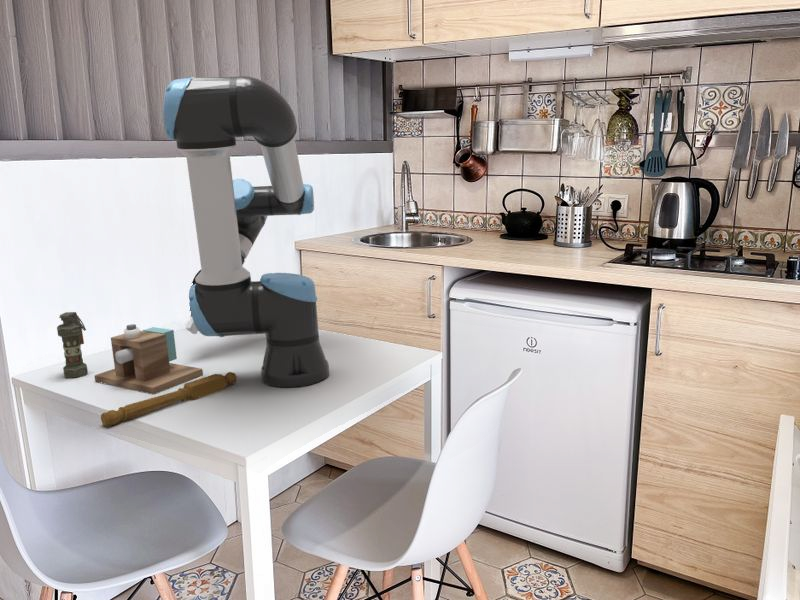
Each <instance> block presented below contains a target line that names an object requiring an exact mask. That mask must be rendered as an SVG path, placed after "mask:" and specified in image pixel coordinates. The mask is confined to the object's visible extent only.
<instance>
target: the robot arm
mask: <svg viewBox="0 0 800 600" xmlns="http://www.w3.org/2000/svg"><path fill="white" fill-rule="evenodd" d="M162 105H163V110H162V116H163V120H162V121H163V128H164V130H165V135H166V137H167V139H168V140H171V141H174V142H175V141H176V148H177V151H179V152H180V153H181V154H182V155H183V156H184V157H185V158H186V165H187V170H188V171H187V172H188V179H189V186H190V188H189V189H190V193H191V194H190V195H191V202H192V209H193V216H194V224H195V232H196V238H197V239H196V240H197V246H198V253H199V262H200V268H201V269H200V270H201V272H199V271H198V272H199V274H198V275H197V277H196V278H195V281H196V284H194V285H192V286H191V285H190V288H189V291H188V300H189V303H188V304H189V306H190V310H189V312H190V311H191V315H190V318H189V320H188V323H187V324H186V325H185V329H186V330H187V331H188V332H190V333H191V334H194V335H197V334H198V332H199V333H200V334H201V335H203V336H205V337H219V338H225V337H231V336H233V337H234V336H249V335H263V334H264V335H265V340H266V341H265V342H266V348H265V353H264V356H263V362H262V366H261V370H260V376H261V381H262V383H263V384H265V385H268V386H271V387H275V388H276V387H279V388H295V387H297V388H298V387H304V386H310V385H314V384H317V383H319V382H322V381H324V380H325V379H327V378H328V377H329V375H330V366H329V362H328V360H327V359H326V356H325V354H324V353H325V352H324V350H323V347H322V345H321V342H320V335H319V322H318V321H319V319H318V311H317V302H318V297H317V294H316V293H317V292H316V287H315V282H314V281H313V279H311V278H310V277H308V276H306V275H303V274H297V273H290V272H267V273H264V274H262V275H261V277H260V280H257V281H252V276H251V272H250V271H249V270H248V269H247V268H245V267H244V266H243V265H244V264H245V261H246V259H247V258H248V255H249V254H250V252H251V250H252V248H253V246H254V244H255V243H256V240H257V238H258V236H259V235H260V232H261V231H262V229H263V228H264V226H265V224H266V222H267V218H268V217H270V216H271V217H272V216H293V215H296V216H301V215H308V214H312V213H313V212H314V211H315V198H314V197H315V196H314V187H313V186H312V185H311V184H309V183H306V184H305V183H304V182H303V177H302V171H301V166H300V161H299V156H298V155H299V154H298V151H297V146H296V140H295V137H296V135H297V132H298V131H297V129H298V126H297V120H296V119H297V118H296V115H295V113H294V110H293V108H292V107H291V105H290V104H289V102H288V101H287V100H286V98H285V97H284V96H283V95H282V94H281V93H280V92H279V91H278V90H277V89H275V88H274V87H273V86H271V85H270V84H268V83H267V82H265V81H263V80H261V79H259V78H256V77H253V76H247V75H238V76H217V77H214V76H212V77H211V76H209V77H193V76H191V77H188V78H177V79H174V80H172V81H170V83H169V84H168V85H167V87H166V89H165V93H164V97H163V104H162ZM239 137H240V138H245V137H253V139H254V141H255V142H256V143H258V145H259V146H260V149H261V152H262V156H263V159H264V163H265V167H266V171H267V174H268V177H269V180H270V184H271V185H265V186H264V185H263V186H260V185H259V186H253V185H252V183H251V182H250V181H248V180H246V179H243V178H235V179H233V172H232V163H231V153H232V152H233V151H234V150H235V148H236V147H237V141H236V138H239ZM189 306H188V307H189Z"/></svg>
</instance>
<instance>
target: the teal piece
mask: <svg viewBox="0 0 800 600" xmlns="http://www.w3.org/2000/svg"><path fill="white" fill-rule="evenodd" d="M142 331H146V332H153V333H160V334H166V340H167V348H168V357H169V363H171V362H173V361H175V360H178V357H177V350H176V349H177V348H176V341H175V332H174V329H169V328H163V327H155V326H152V327H148V328H145V329H143V330H142ZM115 358H116V361H117V362H118V363H120V364H122V363H125V362H128V361H131V360H133V352H132V347H130V348H127V349H124V350H121V351H117V352H116V353H115Z"/></svg>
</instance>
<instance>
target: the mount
mask: <svg viewBox="0 0 800 600" xmlns="http://www.w3.org/2000/svg"><path fill="white" fill-rule="evenodd" d="M110 343H111V350H112V358H113V364H114V365H113V366H114V368H112V369H110V370H107V371H104V372H100V373H98V374H95V375H94V382H95V381H97V382H96V383H99V382H102V383H101V384H104V383H106V384H105V385H109V384H110V385H109V386H113V385H114V387H118V386H119V388H122V387H123V389H129V390H133V391H136V390H138V391H137V392H141V391H143V392H142V393H146V392H148V393H147V394H150V393H152V394H151V395H155V393H156V394H158V393H160V391H161V392H163V391H165V390H164V389H166V390H167V389H168V390H169V389H170V387H171V388H173V386H174V387H175V386H178V384H179V385H181V384H185V383H186V382H190V380H194V379H196V378H198V377H202V376H203V375H204V372H203V371H204V370H203V368H201V367H195V366H189V365H185V364H178V363H172V362H169V357H168V348H167V340H166V334H160V333H153V332H146V331H143V330H140V338H137V339H131V340H127V339H125V335H124V333H121V334H119V335H115V336H111V337H110ZM130 347H132V352H133V360H131V361H128V362H125V363H122V364H120V363H118V362H117V361H116V358H115V353H116V352H117V351H121V350H124V349H127V348H130ZM162 390H163V391H162ZM157 392H158V393H157Z"/></svg>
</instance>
